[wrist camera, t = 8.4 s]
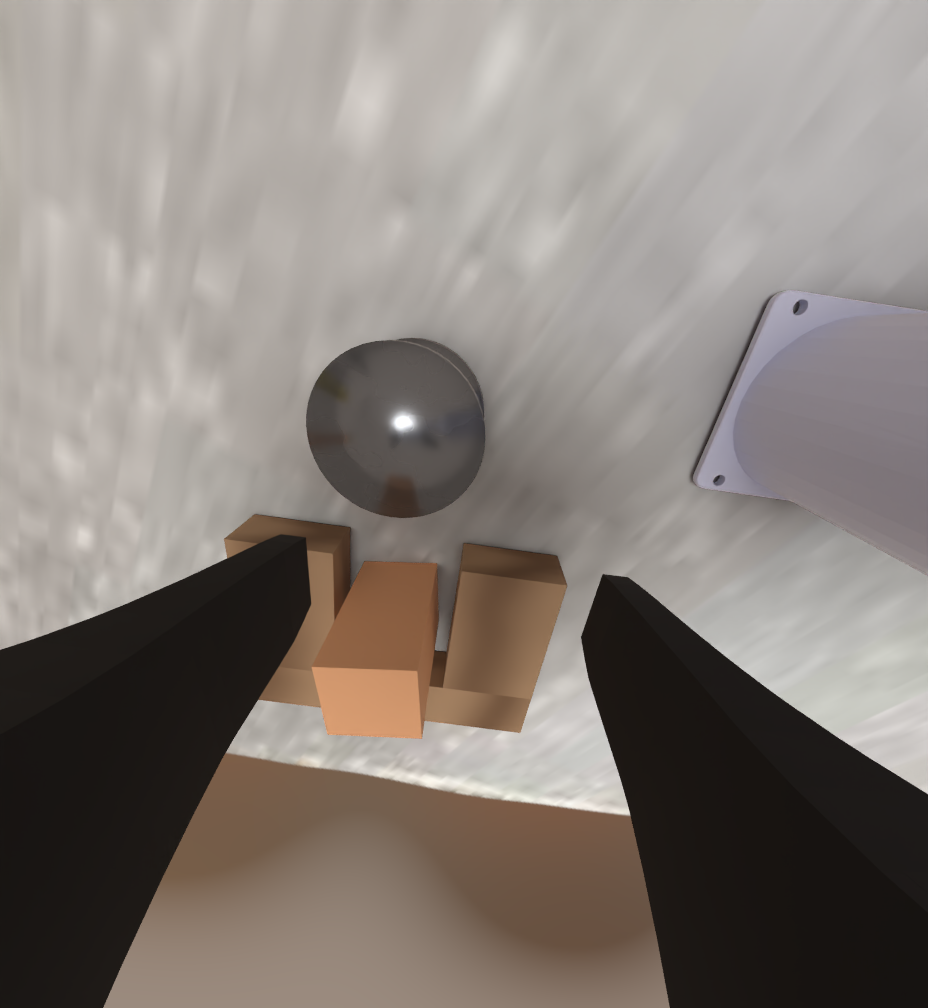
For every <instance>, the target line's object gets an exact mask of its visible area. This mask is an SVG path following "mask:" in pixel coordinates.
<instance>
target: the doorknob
mask: <svg viewBox="0 0 928 1008" xmlns="http://www.w3.org/2000/svg"><path fill="white" fill-rule="evenodd" d="M306 427H307V436H308V440H309V445H310V448H311V451H312V454H313V456H314V459H315V461H316V463H317V465H318V467H319V469H320V470H321V472H322V473H323V475H324V476H325V478H326V479H327V480H328V481H329V482H330V484H331V485H332V486H333V487H334V488H335V489H336V490H337V491H338V492H339V493H340V494H341V495H343V496H344V497H345V498H347V499H348V500H349V501H351V502H352V503H354V504H356V505H358V506H359V507H361V508H363V509H366V510H368V511H370V512H373V513H376V514H379V515H384V516H389V517H398V518H411V517H418V516H424V515H427V514H431V513H434V512H436V511H438V510H441V509H443V508H444V507H446V506H448V505H449V504H451V503H452V502H454V501H455V500H456V499H457V498H459V497H460V496H461V495H462V494H463V493H464V492H465V491H466V490H467V488H468V487H469V485H470V484H471V483H472V481H473V480H474V478H475V476H476V474H477V472H478V470H479V467H480V465H481V462H482V458H483V454H484V447H485V424H484V403H483V397H482V392H481V389H480V386H479V383H478V381H477V379H476V377H475V375H474V374H473V372H472V370H471V369H470V367H469V366H468V365H467V364H466V362H465V361H464V360H463V359H462V358H461V357H460V356H459V355H457V354H456V353H455V352H453V351H452V350H451V349H449V348H447V347H445V346H443V345H442V344H439V343H437V342H434V341H431V340H426V339H419V338H407V339H399V340H387V341H375V342H370V343H366V344H362V345H359V346H357V347H354V348H351V349H350V350H348V351H346V352H344V353H343V354H341V355H340V356H338V357H337V358H336V359H335V360H333V361H332V362H331V363H330V364H329V365H328V366H327V367H326V368H325V370H324V371H323V372H322V374H321V375H320V377H319V378H318V380H317V381H316V383H315V385H314V387H313V390H312V392H311V395H310V399H309V402H308V408H307V416H306Z"/></svg>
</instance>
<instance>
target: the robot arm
mask: <svg viewBox="0 0 928 1008" xmlns="http://www.w3.org/2000/svg"><path fill="white" fill-rule="evenodd" d="M797 301H799V304H800V307H799V310H798V311H797V312H796V313H795V314H794V313H793V311H792V310H793V306H794V305H795V303H796V302H797ZM718 475H720V478H719V480H718V481H716V482H713V479H714V478H715V477H716V476H718ZM693 482H694V483H695V484H696V485H697V486H699V487H700V488H703V489H710V490H717V491H724V492H731V493H738V494H745V495H752V496H759V497H766V498H773V499H780V500H787V501H792V502H794V503H796V504H797V505H799V506H801V507H803V508H805V509H807V510H808V511H810V512H812V513H814V514H816V515H818V516H819V517H821V518H823V519H825V520H827V521H829V522H830V523H832V524H834V525H836V526H838V527H840V528H841V529H843V530H845V531H847V532H849V533H851V534H852V535H854V536H856V537H858V538H860V539H862V540H863V541H865V542H867V543H869V544H871V545H873V546H874V547H876V548H878V549H880V550H882V551H884V552H885V553H887V554H889V555H891V556H893V557H895V558H896V559H898V560H900V561H902V562H904V563H906V564H907V565H909V566H911V567H913V568H915V569H917V570H918V571H920V572H922V573H924V574H926V575H928V311H924V310H918V309H911V308H905V307H899V306H892V305H886V304H879V303H873V302H867V301H860V300H854V299H847V298H841V297H834V296H828V295H822V294H815V293H809V292H802V291H796V290H788V291H781V292H779V293H777V294H775V295H774V296H773V297H772V298H771V299H770V301H769V303H768V304H767V307H766V309H765V311H764V313H763V316H762V318H761V320H760V323H759V325H758V327H757V330H756V332H755V334H754V337H753V339H752V341H751V343H750V346H749V348H748V350H747V353H746V355H745V357H744V360H743V362H742V364H741V366H740V369H739V371H738V373H737V376H736V378H735V380H734V383H733V385H732V387H731V389H730V392H729V394H728V396H727V399H726V401H725V403H724V406H723V408H722V410H721V413H720V415H719V417H718V419H717V422H716V424H715V426H714V429H713V431H712V433H711V436H710V438H709V440H708V442H707V445H706V447H705V449H704V452H703V454H702V456H701V459H700V461H699V463H698V466H697V468H696V470H695V472H694V475H693ZM310 606H311V593H310V580H309V568H308V556H307V544H306V537H300V536H292V535H284V534H280V535H277V536H275V537H272V538H270V539H267V540H265V541H263V542H261V543H259V544H256V545H254V546H252V547H250V548H248V549H246V550H244V551H242V552H240V553H237V554H235V555H233V556H231V557H229V558H227V559H225V560H223V561H221V562H219V563H217V564H214V565H212V566H210V567H208V568H206V569H204V570H202V571H200V572H198V573H195V574H193V575H191V576H189V577H187V578H185V579H182V580H180V581H178V582H176V583H173V584H171V585H169V586H166V587H164V588H162V589H160V590H157V591H155V592H153V593H150V594H148V595H146V596H144V597H141V598H139V599H137V600H134V601H132V602H130V603H128V604H125V605H123V606H120V607H118V608H115V609H113V610H110V611H108V612H105V613H103V614H100V615H98V616H95V617H93V618H90V619H87V620H85V621H82V622H79V623H76V624H74V625H71V626H68V627H66V628H63V629H60V630H57V631H55V632H52V633H49V634H47V635H44V636H41V637H38V638H35V639H32V640H29V641H27V642H23V643H20V644H17V645H14V646H11V647H8V648H5V649H2V650H0V1008H103V1007H104V1004H105V1002H106V1000H107V998H108V995H109V993H110V991H111V989H112V986H113V984H114V981H115V979H116V977H117V975H118V972H119V970H120V968H121V966H122V964H123V961H124V959H125V957H126V955H127V953H128V951H129V948H130V946H131V944H132V942H133V940H134V937H135V936H136V933H137V931H138V929H139V927H140V924H141V923H142V920H143V918H144V916H145V914H146V912H147V909H148V907H149V905H150V903H151V901H152V899H153V897H154V894H155V892H156V890H157V888H158V886H159V884H160V882H161V880H162V877H163V875H164V873H165V871H166V869H167V867H168V865H169V863H170V861H171V859H172V857H173V855H174V853H175V851H176V849H177V847H178V845H179V843H180V841H181V839H182V837H183V834H184V833H185V830H186V828H187V826H188V824H189V822H190V820H191V818H192V816H193V814H194V812H195V810H196V808H197V806H198V804H199V803H200V801H201V799H202V797H203V795H204V793H205V791H206V789H207V787H208V785H209V783H210V781H211V779H212V777H213V775H214V773H215V771H216V769H217V768H218V765H219V764H220V762H221V760H222V758H223V756H224V755H225V753H226V751H227V749H228V748H229V746H230V744H231V742H232V741H233V739H234V737H235V736H236V734H237V732H238V731H239V729H240V728H241V726H242V724H243V723H244V721H245V720H246V718H247V716H248V715H249V713H250V712H251V710H252V709H253V707H254V705H255V704H256V702H257V701H258V699H259V697H260V696H261V694H262V693H263V691H264V689H265V688H266V686H267V685H268V683H269V682H270V680H271V678H272V677H273V675H274V674H275V672H276V670H277V669H278V667H279V666H280V664H281V662H282V661H283V659H284V657H285V656H286V654H287V653H288V651H289V649H290V648H291V646H292V644H293V643H294V641H295V639H296V637H297V635H298V632H299V630H300V628H301V626H302V624H303V622H304V620H305V617H306V615H307V613H308V611H309V608H310ZM581 639H582V645H583V651H584V657H585V663H586V668H587V673H588V678H589V681H590V684H591V688H592V691H593V694H594V697H595V701H596V704H597V707H598V710H599V713H600V716H601V720H602V723H603V726H604V729H605V732H606V735H607V738H608V741H609V744H610V748H611V751H612V754H613V757H614V760H615V763H616V766H617V769H618V773H619V776H620V779H621V782H622V785H623V789H624V793H625V796H626V800H627V803H628V807H629V811H630V815H631V819H632V824H633V828H634V833H635V837H636V841H637V846H638V850H639V855H640V859H641V863H642V868H643V872H644V877H645V882H646V887H647V892H648V896H649V901H650V906H651V911H652V916H653V921H654V926H655V931H656V935H657V940H658V946H659V951H660V957H661V962H662V967H663V973H664V978H665V983H666V989H667V994H668V1000H669V1005H670V1008H928V794H927V793H925V792H923V791H922V790H920V789H919V788H917V787H915V786H914V785H912V784H910V783H909V782H907V781H906V780H904V779H902V778H901V777H899V776H898V775H896V774H894V773H893V772H891V771H889V770H888V769H886V768H885V767H883V766H881V765H880V764H878V763H877V762H875V761H873V760H872V759H870V758H868V757H867V756H865V755H864V754H862V753H861V752H859V751H858V750H856V749H855V748H853V747H851V746H850V745H848V744H847V743H845V742H844V741H842V740H841V739H839V738H838V737H836V736H835V735H833V734H832V733H830V732H829V731H827V730H826V729H824V728H823V727H821V726H820V725H819V724H817V723H816V722H814V721H813V720H811V719H810V718H808V717H807V716H805V715H804V714H803V713H801V712H800V711H798V710H797V709H795V708H794V707H792V706H791V705H789V704H788V703H787V702H785V701H784V700H782V699H781V698H780V697H778V696H777V695H775V694H774V693H773V692H771V691H770V690H769V689H767V688H766V687H764V686H763V685H762V684H761V683H759V682H758V681H757V680H755V679H754V678H753V677H751V676H750V675H749V674H747V673H746V672H745V671H743V670H742V669H741V668H739V667H738V666H737V665H736V664H734V663H733V662H732V661H730V660H729V659H728V658H727V657H725V656H724V655H723V654H722V653H720V652H719V651H718V650H716V649H715V648H714V647H713V646H711V645H710V644H709V643H708V642H707V641H705V640H704V639H703V638H702V637H700V636H699V635H698V634H697V633H696V632H694V631H693V630H692V629H691V628H690V627H688V626H687V625H686V624H685V623H684V622H682V621H681V620H680V619H679V618H678V617H676V616H675V615H674V614H673V613H672V612H670V611H669V610H668V609H667V608H666V607H665V606H663V605H662V604H661V603H660V602H659V601H657V600H656V599H655V598H654V597H653V596H651V595H650V594H649V593H648V592H646V591H645V590H644V589H643V588H641V587H640V586H639V585H638V584H636V583H635V582H634V581H632V580H631V579H629V578H628V577H621V576H613V575H605V574H603V575H602V578H601V581H600V584H599V586H598V589H597V592H596V595H595V598H594V601H593V604H592V607H591V610H590V613H589V616H588V619H587V621H586V624H585V627H584V630H583V633H582V636H581Z"/></svg>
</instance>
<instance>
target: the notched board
mask: <svg viewBox="0 0 928 1008" xmlns="http://www.w3.org/2000/svg"><path fill="white" fill-rule="evenodd" d="M280 534H284V535H292V536H300V537H306V544H307V556H308V568H309V580H310V593H311V606H310V608H309V611H308V613H307V615H306V617H305V620H304V622H303V624H302V626H301V628H300V630H299V632H298V635H297V637H296V639H295V641H294V643H293V644H292V646H291V648H290V649H289V651H288V653H287V654H286V656H285V657H284V659H283V661H282V662H281V664H280V666H279V667H278V669H277V670H276V672H275V674H274V675H273V677H272V678H271V680H270V682H269V683H268V685H267V686H266V688H265V689H264V691H263V693H262V694H261V696H260V697H259V699H258V700H265V701H273V702H281V703H289V704H297V705H305V706H313V707H321V705H320V700H319V696H318V692H317V688H316V684H315V679H314V675H313V671H312V665H313V663H314V661H315V659H316V657H317V655H318V653H319V651H320V649H321V647H322V645H323V643H324V641H325V639H326V637H327V635H328V633H329V631H330V629H331V627H332V625H333V623H334V621H335V619H336V617H337V615H338V613H339V611H340V609H341V607H342V605H343V603H344V601H345V599H346V597H347V595H348V593H349V591H350V527H343V526H335V525H328V524H321V523H314V522H306V521H299V520H292V519H284V518H277V517H270V516H263V515H255V514H254V515H253V516H252V517H251V518H249V519H248V520H247V521H246V522H244V523H243V524H242V525H241V526H240V527H238V528H237V529H236V530H235V531H233V532H232V533H231V534H230V535H228V536H227V537H226V538H225V539H224V541H225V547H226V553H227V558H229V557H231V556H233V555H235V554H237V553H240V552H242V551H244V550H246V549H248V548H250V547H252V546H254V545H256V544H259V543H261V542H263V541H265V540H267V539H270V538H272V537H275V536H277V535H280ZM566 588H567V583H566V580H565V577H564V575H563V572H562V569H561V566H560V563H559V560H558V557H557V556H553V555H546V554H539V553H532V552H524V551H517V550H510V549H502V548H495V547H488V546H481V545H473V544H466V543H464V545H463V551H462V557H461V564H460V570H459V576H458V583H457V589H456V595H455V602H454V608H453V614H452V621H451V627H450V633H449V639H448V646H447V652H439V651H434V657H433V664H432V671H431V678H430V685H429V692H428V699H427V706H426V713H425V720H424V721H431V722H439V723H447V724H455V725H463V726H471V727H479V728H486V729H494V730H502V731H510V732H518V733H520V732H521V729H522V726H523V723H524V719H525V716H526V713H527V710H528V707H529V704H530V701H531V698H532V694H533V691H534V688H535V685H536V682H537V679H538V676H539V673H540V669H541V666H542V663H543V660H544V657H545V654H546V651H547V648H548V644H549V641H550V638H551V635H552V632H553V629H554V626H555V623H556V619H557V616H558V613H559V610H560V607H561V604H562V601H563V598H564V594H565V591H566Z"/></svg>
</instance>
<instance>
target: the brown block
mask: <svg viewBox="0 0 928 1008" xmlns="http://www.w3.org/2000/svg"><path fill="white" fill-rule="evenodd" d="M438 621H439V611H438V576H437V563H407V562H373V561H364V563H363V565H362V567H361V569H360V571H359V573H358V575H357V577H356V579H355V581H354V583H353V585H352V587H351V589H350V591H349V593H348V595H347V597H346V599H345V601H344V603H343V605H342V607H341V609H340V611H339V613H338V615H337V617H336V619H335V621H334V623H333V625H332V627H331V629H330V631H329V633H328V635H327V637H326V639H325V641H324V643H323V645H322V647H321V649H320V651H319V653H318V655H317V657H316V659H315V661H314V663H313V665H312V671H313V675H314V679H315V684H316V688H317V692H318V696H319V700H320V705H321V709H322V713H323V717H324V721H325V725H326V730H327V734H328V735H351V736H374V737H396V738H419V739H422V734H423V727H424V720H425V713H426V706H427V699H428V692H429V685H430V678H431V671H432V664H433V657H434V650H435V643H436V636H437V629H438Z"/></svg>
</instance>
